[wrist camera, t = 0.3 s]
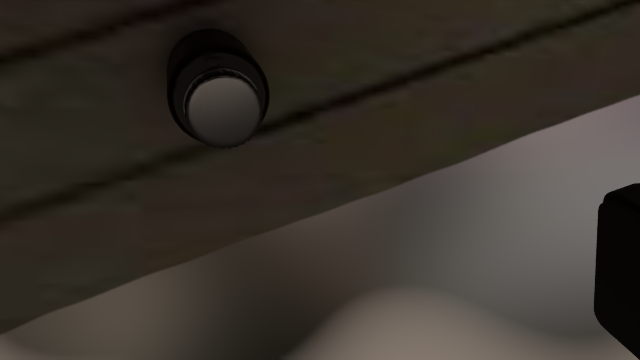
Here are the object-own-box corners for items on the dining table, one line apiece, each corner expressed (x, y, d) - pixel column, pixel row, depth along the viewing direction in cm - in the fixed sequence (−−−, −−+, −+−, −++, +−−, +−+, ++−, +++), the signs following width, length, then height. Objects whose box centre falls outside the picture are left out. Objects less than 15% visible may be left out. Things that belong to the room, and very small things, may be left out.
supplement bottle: (264, 43, 43) (297, 80, 33) (236, 120, 45) (260, 178, 35) (180, 13, 41) (187, 41, 30) (155, 96, 43) (154, 150, 32)
